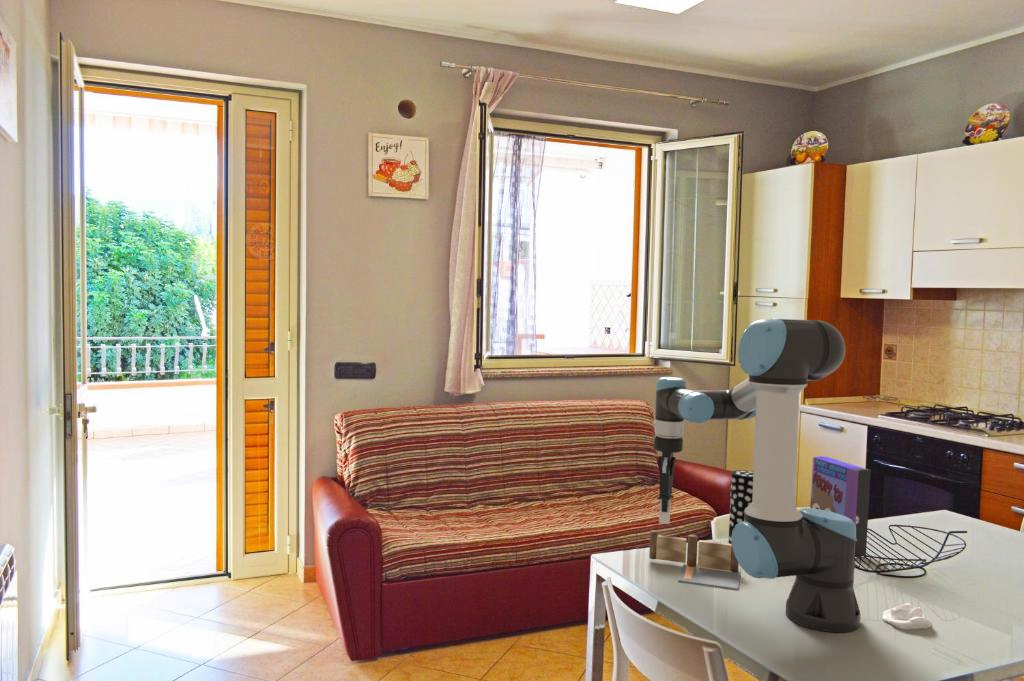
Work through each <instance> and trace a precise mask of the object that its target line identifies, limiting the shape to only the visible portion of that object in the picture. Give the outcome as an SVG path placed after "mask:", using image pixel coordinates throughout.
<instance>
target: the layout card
mask: <svg viewBox="0 0 1024 681" xmlns="http://www.w3.org/2000/svg"><path fill="white" fill-rule="evenodd" d="M741 570H742V568H741V569H740V568H739V569H738V572H732V571H727V570H719V569H712V568H704V567H698V563H697V564H696V566H695V567H691V566H688V565H687V561H686V562H685V563H683V564H682V568H681V571H680V574H679V576H678V581H677V582H678V583H684V584H691V585H700V586H707V587H712V588H713V587H714V588H720V589H728V590H734V591H739V588H740V587H739V586H740V579H741Z"/></svg>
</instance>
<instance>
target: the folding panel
mask: <svg viewBox="0 0 1024 681" xmlns="http://www.w3.org/2000/svg"><path fill="white" fill-rule="evenodd" d="M687 541H688V538H685V537H676V536H669V535H661V534H659V531H658V530H655V529H654V530H652V529H651V530H650V531H649V551H648V552H649V556H648V558H649V559H650V560H660V561H668V562H673V563H674V562H675V563H682V564H684V563H685V562H687Z"/></svg>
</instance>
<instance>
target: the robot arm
mask: <svg viewBox="0 0 1024 681" xmlns="http://www.w3.org/2000/svg"><path fill="white" fill-rule="evenodd" d="M737 348H738V349H737V359H738V363H739V364H740V365H739V367H740V369H741V370H742V372H743V373H745V374H746V375H748V378H746V379H745V380H743V381H742V382H739V384H736V385H734V387H732V388H730V389H719V390H718V389H717V390H716V389H715V390H713V389H712V390H707V389H706V390H704V389H703V390H700V389H699V390H692V389H687V383H686V381H685V379H684V378H682V377H678V376H677V377H676V376H675V377H674V376H673V377H672V376H663V377H662V376H661V377H660V378H658V379H657V381H656V390H655V413H654V416H655V419H654V421H653V422H652V425H653V426H654V434H655V435H654V437H653V449H654V450H655V451H657V452H661V455H660V457H659V459H658V463H659V466H658V467H659V468H658V469H659V472H658V473H659V494H658V496H657V497H656V498H657V500H659V511H658V512H659V514H658V515H659V516H658V523H659V524H664V525H665V524H666V525H670V524H671V505H672V503H671V502H672V499H675V498H674V497H675V496H674V495H673V482H674V481H673V480H674V472H675V463H676V460H677V459H676V458H677V457H676V456H674V454H676V453H677V454H678V453H680V452H682V451H683V446H684V445H683V444H684V443H683V442H684V438H683V437H682V436H684V433H685V432H684V431H685V430H684V428H685V421H687V422H689V423H696V424H703V423H705V422H707V421H716V420H739V421H741V420H747V419H752V418H755V419H754V439H753V440H754V443H753V444H754V445H753V467H752V471H753V497H752V503H751V504H750V505H749V506H748V507H747V508H746V509H745V512H744V521H742V522H740V523H738V524H736V526H735V528H734V529H733V532H732V546H733V551H734V554H735V557H736V559H737V561H738V562H739V566H740V568H741V570H743V571H744V573H746V574H747V575H748V576H750V577H752V578H755V579H769V580H772V579H776V578H777V579H778V578H784V577H791V576H792V577H795V580H794V583H793V585H792V586H791V589H790V591H789V594H788V597H787V599H786V601H785V615H786V616H787V618H789V619H790V620H791V621H793V622H794V623H796V624H798V625H801V626H803V627H806V628H808V629H809V628H810V629H812V630H816V631H821V632H822V631H823V632H831V633H847V632H852V631H856V630H857V629H858V628H860V626H861V616H862V615H861V610H860V606H859V604H858V603H859V602H858V600H857V596H856V592H855V590H854V581H855V580H854V578H855V562H856V558H855V552H856V541H857V539H856V525H855V523H854V522H853V521H852V520H851V519H850V518H848V517H846V516H843V515H840V514H837V513H833V512H829V511H825V510H820V509H812V508H810V507H804V508H801V509H799V510H798V509H797V507H796V494H797V492H796V489H797V468H798V466H797V464H798V463H797V461H798V441H799V440H798V439H799V438H798V437H799V436H798V435H799V434H798V433H799V406H800V393H801V392H802V391H803V390H804V389H805V388H806V387H808V382H809V381H811V382H817V381H820V380H822V379H824V378H826V377H828V376H829V375H830V374H832V373H833V372H835V371H837V369H839V367H840V366H841V365H842V364H843V362H844V360H845V355H846V344H845V339H844V337H843V336H842V334H841V332H840V331H839V330H838V328H836V327H835V326H834V325H832V324H830V323H828V322H826V321H824V320H820V319H791V318H789V319H787V318H785V319H784V318H775V317H774V318H769V319H768V318H767V319H759V320H755V321H754V322H752V323H750V324H749V325H747V327H746V329H745V330H744V331H743V333H742V335H741V338H740V339H739V343H738V347H737Z"/></svg>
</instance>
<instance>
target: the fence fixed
mask: <svg viewBox="0 0 1024 681" xmlns="http://www.w3.org/2000/svg"><path fill="white" fill-rule="evenodd" d="M698 539H699V537H698V535H696V534H688V535H687V548H686V562H687V565H688V566H691V567H695V566H696V564H698V567H704V568H712V569H719V570H727V571H732V572H738V569H740V568H739V566H740V565H739V562H738V561H737V559H736V557H735V554H734V551H733V546H732V541H731V544H729V543H725V542H719V541H718V542H717V541H716V542H715V541H709V540H701V539H699V540H698Z"/></svg>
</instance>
